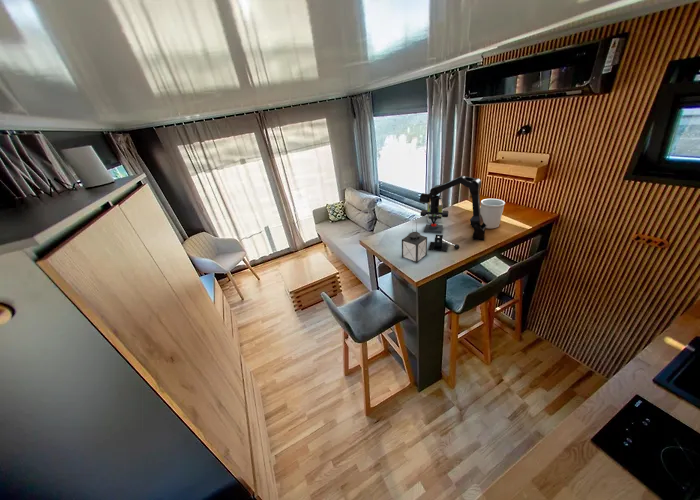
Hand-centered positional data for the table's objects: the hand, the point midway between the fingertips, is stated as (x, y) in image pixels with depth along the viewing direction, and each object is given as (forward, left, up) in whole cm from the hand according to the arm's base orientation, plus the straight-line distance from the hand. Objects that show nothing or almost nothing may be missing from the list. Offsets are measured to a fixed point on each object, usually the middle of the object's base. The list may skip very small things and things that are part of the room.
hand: (433, 224), depth 184 cm
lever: (-11, +25, -2) cm, 27 cm away
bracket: (-6, +25, -5) cm, 26 cm away
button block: (0, 0, -5) cm, 5 cm away
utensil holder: (-37, -15, -5) cm, 40 cm away
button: (0, 0, -2) cm, 2 cm away
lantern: (+7, +39, -5) cm, 40 cm away
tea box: (+2, -20, -5) cm, 21 cm away
